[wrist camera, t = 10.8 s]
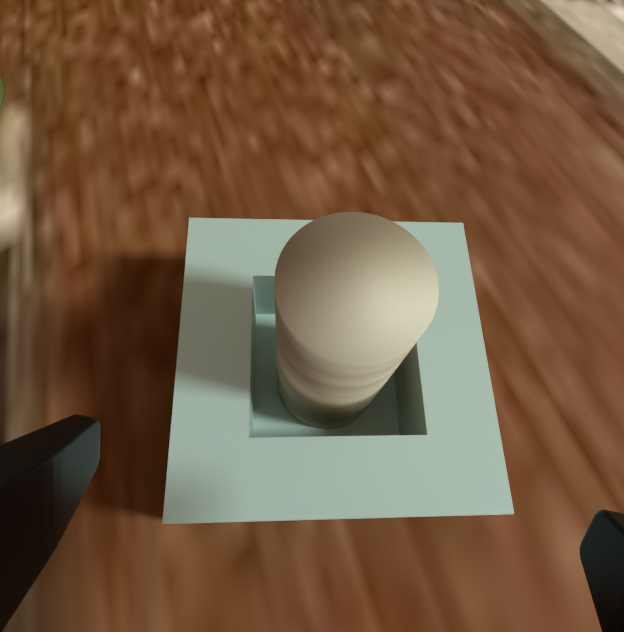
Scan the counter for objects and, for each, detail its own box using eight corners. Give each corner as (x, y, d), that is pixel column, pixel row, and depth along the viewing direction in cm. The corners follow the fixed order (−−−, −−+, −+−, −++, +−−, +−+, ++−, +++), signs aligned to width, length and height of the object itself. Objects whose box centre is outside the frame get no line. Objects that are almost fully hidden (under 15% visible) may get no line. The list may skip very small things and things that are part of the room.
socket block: (462, 515, 21) (513, 513, 17) (187, 523, 20) (162, 523, 16) (429, 275, 26) (463, 223, 21) (204, 273, 25) (189, 217, 21)
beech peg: (390, 406, 22) (469, 323, 13) (299, 445, 21) (314, 386, 12) (349, 321, 24) (393, 193, 14) (262, 354, 23) (250, 240, 13)
